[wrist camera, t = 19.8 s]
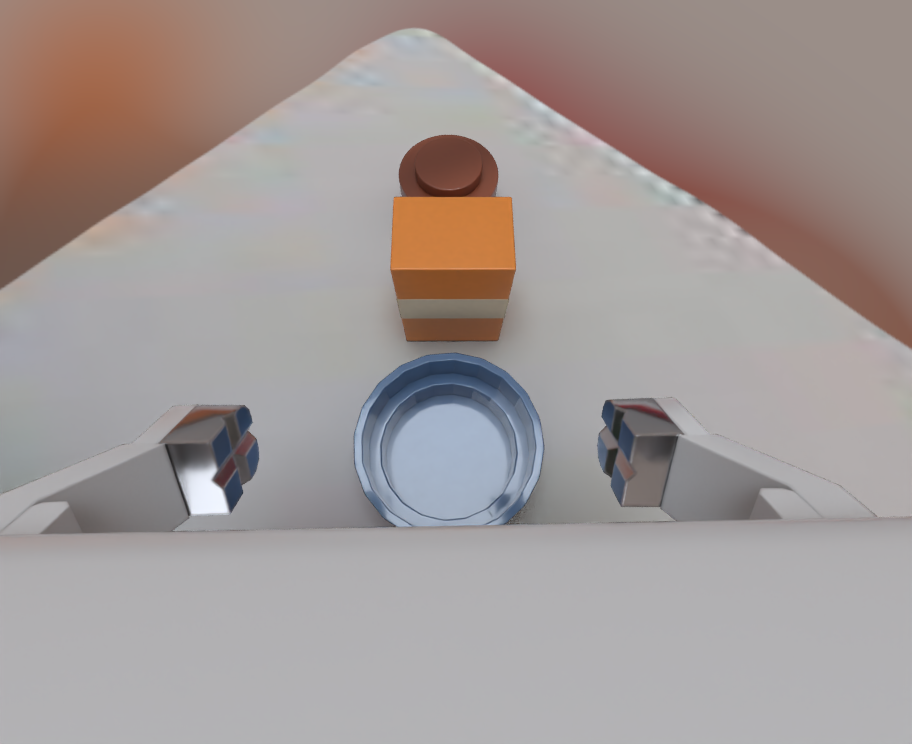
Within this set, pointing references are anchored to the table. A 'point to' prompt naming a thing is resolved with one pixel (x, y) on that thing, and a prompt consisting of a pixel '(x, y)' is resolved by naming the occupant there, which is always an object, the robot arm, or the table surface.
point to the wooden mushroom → (448, 169)
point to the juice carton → (452, 266)
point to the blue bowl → (448, 443)
